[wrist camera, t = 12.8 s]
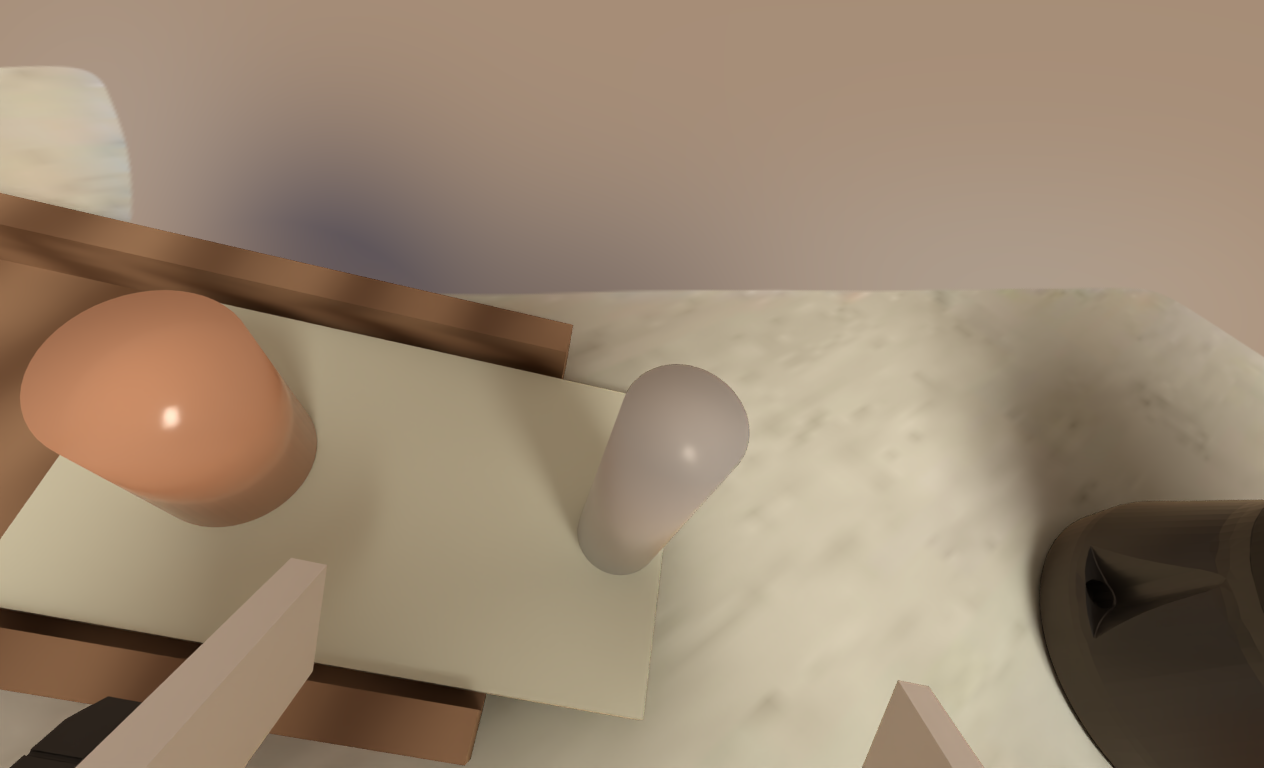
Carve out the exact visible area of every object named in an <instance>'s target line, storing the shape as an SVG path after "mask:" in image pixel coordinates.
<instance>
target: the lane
mask: <svg viewBox="0 0 1264 768" xmlns="http://www.w3.org/2000/svg"><path fill="white" fill-rule="evenodd" d="M155 290H173V291H184V292H190V293H195V294H198V295H202V296H205V297H208V298H210V299H213V300H215V301H217V302H219V303H222V304H226V305H231V306H235V307H240V308H244V309H249V310H253V311H258V312H262V313H267V314H271V315H276V316H280V317H285V318H289V319H294V320H298V321H303V322H307V323H312V324H316V325H321V326H325V327H330V328H334V329H339V330H343V331H348V332H352V333H357V334H361V335H366V336H370V337H375V338H379V339H384V340H388V341H393V342H397V343H402V344H406V345H411V346H415V347H420V348H424V349H429V350H433V351H438V352H442V353H447V354H451V355H456V356H460V357H465V358H469V359H474V360H478V361H483V362H487V363H492V364H496V365H501V366H505V367H510V368H514V369H519V370H523V371H528V372H532V373H537V374H541V375H546V376H550V377H555V378H559V379H563V377H564V373H565V369H566V363H567V357H568V352H569V346H570V340H571V334H572V328H573V325H571V324H566V323H562V322H558V321H553V320H549V319H545V318H540V317H536V316H532V315H527V314H523V313H519V312H514V311H510V310H506V309H501V308H497V307H493V306H488V305H484V304H480V303H475V302H471V301H467V300H462V299H458V298H454V297H449V296H445V295H441V294H436V293H432V292H428V291H423V290H419V289H414V288H410V287H406V286H401V285H397V284H393V283H388V282H383V281H380V280H375V279H371V278H367V277H362V276H358V275H353V274H349V273H345V272H341V271H336V270H332V269H328V268H323V267H319V266H314V265H310V264H306V263H301V262H297V261H293V260H288V259H284V258H280V257H275V256H271V255H267V254H262V253H258V252H254V251H250V250H245V249H241V248H237V247H232V246H228V245H223V244H219V243H215V242H211V241H206V240H202V239H197V238H193V237H188V236H185V235H180V234H176V233H171V232H167V231H163V230H158V229H154V228H149V227H145V226H141V225H137V224H132V223H128V222H124V221H119V220H115V219H111V218H106V217H102V216H98V215H93V214H89V213H85V212H80V211H76V210H72V209H67V208H63V207H59V206H54V205H50V204H46V203H41V202H37V201H33V200H28V199H24V198H20V197H15V196H11V195H7V194H2V193H0V539H1V537H2V536H3V535H4V533H5V532H6V530H7V529H8V527H9V526H10V525H11V523H12V522H13V520H14V519H15V518H16V516H17V515H18V513H19V512H20V510H21V509H22V508H23V506H24V505H25V503H26V502H27V501H28V499H29V498H30V496H31V495H32V494H33V492H34V491H35V489H36V488H37V486H38V485H39V484H40V482H41V481H42V479H43V478H44V477H45V475H46V474H47V472H48V471H49V469H50V468H51V467H52V465H53V464H54V462H55V461H56V460H57V458H58V457H59V454H57V453H56V452H54V451H52V450H50V449H49V448H47V447H46V446H45V445H43V444H42V443H41V442H40V441H39V440H37V439H36V437H35V436H34V435H33V434H32V432H31V431H30V430H29V428H28V426H27V424H26V422H25V420H24V418H23V414H22V411H21V404H20V392H21V384H22V381H23V377H24V374H25V371H26V369H27V367H28V365H29V363H30V361H31V359H32V358H33V356H34V355H35V353H36V352H37V350H38V349H39V348H40V347H41V345H42V344H43V343H44V342H45V341H46V340H47V339H48V338H49V337H50V336H51V335H52V334H53V333H54V332H55V331H56V330H57V329H58V328H60V327H61V326H62V325H64V324H65V323H66V322H67V321H69V320H70V319H72V318H74V317H75V316H77V315H78V314H80V313H81V312H83V311H85V310H87V309H89V308H91V307H93V306H95V305H98V304H100V303H103V302H105V301H108V300H111V299H114V298H117V297H120V296H124V295H128V294H133V293H137V292H145V291H155ZM201 645H202V644H200V643H194V642H188V641H183V640H177V639H171V638H165V637H160V636H154V635H148V634H143V633H137V632H131V631H125V630H120V629H114V628H108V627H103V626H97V625H91V624H85V623H80V622H74V621H68V620H62V619H57V618H51V617H45V616H40V615H34V614H28V613H22V612H17V611H11V610H5V609H0V689H2V690H8V691H14V692H20V693H26V694H32V695H38V696H44V697H50V698H56V699H63V700H69V701H75V702H81V703H87V704H95V703H96V702H98V701H100V700H102V699H104V698H106V697H108V696H110V697H115V698H121V699H126V700H132V701H137V702H143V701H144V700H145V699H146V698H147V697H148V696H150V695H151V694H152V693H153V692H154V691H155V690H156V689H157V688H158V687H159V686H160V685H161V684H162V683H163V682H164V681H165V680H166V679H167V678H168V677H169V676H170V675H171V674H172V673H173V672H174V671H175V670H176V669H177V668H178V667H179V666H180V665H181V664H182V663H183V662H184V661H185V660H187V659H188V658H189V657H190V656H191V655H192V654H193V653H194V652H195V651H196V650H197V649H198V648H199V647H200V646H201ZM485 698H486V693H480V692H474V691H469V690H463V689H457V688H452V687H446V686H440V685H434V684H429V683H423V682H417V681H412V680H406V679H400V678H394V677H389V676H383V675H377V674H371V673H366V672H360V671H354V670H349V669H343V668H337V667H331V666H326V665H320V664H314V666H313V672H312V673H311V674H310V676H309V677H308V679H307V680H306V681H305V683H304V684H303V686H302V687H301V689H300V690H299V691H298V693H297V694H296V696H295V697H294V698H293V700H292V701H291V703H290V704H289V705H288V707H287V708H286V710H285V711H284V712H283V714H282V715H281V717H280V718H279V719H278V721H277V722H276V724H275V725H274V727H273V728H272V729H271V731H270V732H269V733H270V734H276V735H282V736H288V737H294V738H300V739H307V740H313V741H319V742H325V743H331V744H337V745H343V746H349V747H355V748H361V749H368V750H374V751H380V752H386V753H392V754H398V755H404V756H410V757H416V758H422V759H429V760H435V761H441V762H447V763H453V764H459V765H465V764H466V763H467V762H468V761H469V760H470V759H471V755H472V751H473V747H474V743H475V739H476V735H477V731H478V726H479V722H480V718H481V714H482V710H483V706H484V702H485Z"/></svg>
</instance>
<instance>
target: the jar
mask: <svg viewBox="0 0 1264 768" xmlns="http://www.w3.org/2000/svg"><path fill="white" fill-rule="evenodd" d="M20 404H21V411H22V414H23V418H24V420H25V422H26V424H27V426H28V428H29V430H30V431H31V432H32V434H33V435H34V436H35V437H36V439H37V440H39V441H40V442H41V443H42V444H43V445H45V446H46V447H47V448H49V449H50V450H52V451H54V452H56V453H57V454H59V455H61V456H63V457H65V458H67V459H68V460H70V461H72V462H74V463H76V464H78V465H80V466H81V467H83V468H85V469H87V470H89V471H91V472H93V473H94V474H96V475H98V476H100V477H102V478H104V479H106V480H107V481H109V482H111V483H113V484H115V485H117V486H119V487H120V488H122V489H124V490H126V491H128V492H130V493H132V494H133V495H135V496H137V497H139V498H141V499H143V500H145V501H146V502H148V503H150V504H152V505H154V506H156V507H158V508H159V509H161V510H163V511H165V512H167V513H169V514H171V515H172V516H174V517H176V518H178V519H180V520H182V521H185V522H187V523H190V524H194V525H198V526H205V527H227V526H234V525H238V524H243V523H246V522H249V521H252V520H255V519H257V518H260V517H262V516H264V515H266V514H268V513H270V512H271V511H273V510H275V509H276V508H278V507H279V506H280V505H282V504H283V503H284V502H286V501H287V500H288V499H289V498H290V497H291V496H292V495H293V494H294V493H295V492H296V491H297V490H298V489H299V488H300V486H301V485H302V484H303V482H304V481H305V479H306V478H307V476H308V474H309V472H310V470H311V468H312V466H313V463H314V460H315V456H316V451H317V436H316V430H315V427H314V424H313V422H312V420H311V417H310V416H309V415H308V413H307V412H306V410H305V409H304V407H303V406H302V405H301V403H300V402H299V400H298V399H297V398H296V396H295V395H294V393H293V392H292V391H291V389H290V388H289V386H288V385H287V384H286V382H285V381H284V379H283V378H282V377H281V375H280V374H279V373H278V371H277V370H276V368H275V367H274V366H273V364H272V363H271V361H270V360H269V359H268V357H267V356H266V354H265V353H264V352H263V350H262V349H261V347H260V346H259V345H258V343H257V342H256V340H255V339H254V338H253V336H252V335H251V333H250V332H249V331H248V329H247V328H246V326H245V325H244V324H243V322H242V321H241V320H240V319H239V318H238V317H237V315H236V314H235V313H234V312H232V311H231V310H230V309H228V308H227V307H226V306H224V305H222V304H221V303H219V302H217V301H215V300H213V299H210V298H208V297H205V296H202V295H198V294H195V293H190V292H184V291H173V290H155V291H145V292H137V293H133V294H128V295H124V296H120V297H117V298H114V299H111V300H108V301H105V302H103V303H100V304H98V305H95V306H93V307H91V308H89V309H87V310H85V311H83V312H81V313H80V314H78V315H77V316H75V317H74V318H72V319H70V320H69V321H67V322H66V323H65V324H64V325H62V326H61V327H60V328H58V329H57V330H56V331H55V332H54V333H53V334H52V335H51V336H50V337H49V338H48V339H47V340H46V341H45V342H44V343H43V344H42V345H41V347H40V348H39V349H38V350H37V352H36V353H35V355H34V356H33V358H32V359H31V361H30V363H29V365H28V367H27V369H26V371H25V374H24V377H23V381H22V384H21V392H20Z"/></svg>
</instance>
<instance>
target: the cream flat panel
mask: <svg viewBox="0 0 1264 768" xmlns="http://www.w3.org/2000/svg"><path fill="white" fill-rule="evenodd" d="M221 304H222V303H221ZM222 305H224V306H226V307H227V308H228V309H230V310H231V311H232V312H234V313H235V314H236V315H237V317H238V318H239V319H240V320H241V321H242V322H243V324H244V325H245V326H246V328H247V329H248V331H249V332H250V333H251V335H252V336H253V338H254V339H255V340H256V342H257V343H258V345H259V346H260V347H261V349H262V350H263V352H264V353H265V354H266V356H267V357H268V359H269V360H270V361H271V363H272V364H273V366H274V367H275V368H276V370H277V371H278V373H279V374H280V375H281V377H282V378H283V379H284V381H285V382H286V384H287V385H288V386H289V388H290V389H291V391H292V392H293V393H294V395H295V396H296V398H297V399H298V400H299V402H300V403H301V405H302V406H303V407H304V409H305V410H306V412H307V413H308V415H309V416H310V417H311V420H312V422H313V424H314V427H315V430H316V436H317V451H316V456H315V460H314V463H313V466H312V468H311V470H310V472H309V474H308V476H307V478H306V479H305V481H304V482H303V484H302V485H301V486H300V488H299V489H298V490H297V491H296V492H295V493H294V494H293V495H292V496H291V497H290V498H289V499H288V500H287V501H286V502H284V503H283V504H282V505H280V506H279V507H278V508H276V509H275V510H273V511H271V512H270V513H268V514H266V515H264V516H262V517H260V518H257V519H255V520H252V521H249V522H246V523H243V524H238V525H234V526H227V527H205V526H198V525H194V524H190V523H187V522H185V521H182V520H180V519H178V518H176V517H174V516H172V515H171V514H169V513H167V512H165V511H163V510H161V509H159V508H158V507H156V506H154V505H152V504H150V503H148V502H146V501H145V500H143V499H141V498H139V497H137V496H135V495H133V494H132V493H130V492H128V491H126V490H124V489H122V488H120V487H119V486H117V485H115V484H113V483H111V482H109V481H107V480H106V479H104V478H102V477H100V476H98V475H96V474H94V473H93V472H91V471H89V470H87V469H85V468H83V467H81V466H80V465H78V464H76V463H74V462H72V461H70V460H68V459H67V458H65V457H63V456H61V455H59V457H58V458H57V460H56V461H55V462H54V464H53V465H52V467H51V468H50V469H49V471H48V472H47V474H46V475H45V477H44V478H43V479H42V481H41V482H40V484H39V485H38V486H37V488H36V489H35V491H34V492H33V494H32V495H31V496H30V498H29V499H28V501H27V502H26V503H25V505H24V506H23V508H22V509H21V510H20V512H19V513H18V515H17V516H16V518H15V519H14V520H13V522H12V523H11V525H10V526H9V527H8V529H7V530H6V532H5V533H4V535H3V536H2V537H1V539H0V609H5V610H11V611H17V612H22V613H28V614H34V615H40V616H45V617H51V618H57V619H62V620H68V621H74V622H80V623H85V624H91V625H97V626H103V627H108V628H114V629H120V630H125V631H131V632H137V633H143V634H148V635H154V636H160V637H165V638H171V639H177V640H183V641H188V642H194V643H200V644H203V643H204V642H205V641H206V640H207V639H208V638H209V637H210V636H211V635H212V634H213V633H214V632H215V631H216V630H217V629H218V628H219V627H220V626H221V625H223V624H224V623H225V622H226V621H227V620H228V619H229V618H230V617H231V616H232V615H233V614H234V613H235V612H236V611H237V610H238V609H239V608H240V607H241V606H242V605H243V604H244V603H245V602H246V601H247V600H248V599H249V598H250V597H251V596H252V595H253V594H254V593H255V592H256V591H257V590H259V589H260V588H261V587H262V586H263V585H264V584H265V583H266V582H267V581H268V580H269V579H270V578H271V577H272V576H273V575H274V574H275V573H276V572H277V571H278V570H279V569H280V568H281V567H282V566H283V565H284V564H285V563H286V562H287V561H288V560H289V559H290V558H295V559H300V560H305V561H310V562H315V563H320V564H325V565H327V570H326V577H325V584H324V592H323V599H322V607H321V614H320V621H319V629H318V636H317V644H316V651H315V658H314V664H320V665H326V666H331V667H337V668H343V669H349V670H354V671H360V672H366V673H371V674H377V675H383V676H389V677H394V678H400V679H406V680H412V681H417V682H423V683H429V684H434V685H440V686H446V687H452V688H457V689H463V690H469V691H474V692H480V693H486V694H492V695H497V696H503V697H509V698H515V699H520V700H526V701H532V702H537V703H543V704H549V705H555V706H560V707H566V708H572V709H578V710H583V711H589V712H595V713H600V714H606V715H612V716H618V717H623V718H629V719H635V720H643V717H644V708H645V700H646V691H647V683H648V674H649V666H650V658H651V649H652V641H653V632H654V624H655V615H656V607H657V599H658V590H659V582H660V573H661V565H662V557H663V548H664V546H665V545H666V544H667V543H668V542H669V541H670V539H671V538H672V537H673V536H674V535H675V534H676V533H677V532H678V531H679V529H680V528H681V527H682V526H683V525H684V524H685V523H686V522H687V521H688V520H689V518H690V517H691V516H692V515H693V514H694V513H695V512H696V511H697V510H698V508H699V507H700V506H701V505H702V504H703V503H704V502H705V501H706V500H707V499H708V497H709V496H710V495H711V494H712V493H713V492H714V491H715V490H716V489H717V488H718V486H719V485H720V484H721V483H722V482H723V481H724V480H725V479H726V478H727V476H728V475H729V474H730V473H731V472H732V471H733V470H734V469H735V468H736V466H737V465H738V464H739V463H740V461H741V460H742V458H743V457H744V455H745V452H746V450H747V446H748V443H749V422H748V418H747V414H746V411H745V409H744V407H743V405H742V403H741V401H740V399H739V398H738V396H737V395H736V394H735V392H734V391H733V390H732V389H731V388H730V387H729V386H728V385H727V384H726V383H725V382H723V381H722V380H721V379H720V378H718V377H717V376H715V375H713V374H711V373H710V372H708V371H705V370H703V369H700V368H697V367H694V366H689V365H680V364H673V365H665V366H660V367H657V368H654V369H652V370H649V371H647V372H646V373H644V374H643V375H641V376H640V377H639V378H638V379H636V380H635V381H634V382H633V384H632V385H631V386H630V388H629V389H628V391H627V392H626V393H622V392H618V391H613V390H609V389H604V388H600V387H595V386H591V385H586V384H582V383H577V382H573V381H568V380H564V379H559V378H555V377H550V376H546V375H541V374H537V373H532V372H528V371H523V370H519V369H514V368H510V367H505V366H501V365H496V364H492V363H487V362H483V361H478V360H474V359H469V358H465V357H460V356H456V355H451V354H447V353H442V352H438V351H433V350H429V349H424V348H420V347H415V346H411V345H406V344H402V343H397V342H393V341H388V340H384V339H379V338H375V337H370V336H366V335H361V334H357V333H352V332H348V331H343V330H339V329H334V328H330V327H325V326H321V325H316V324H312V323H307V322H303V321H298V320H294V319H289V318H285V317H280V316H276V315H271V314H267V313H262V312H258V311H253V310H249V309H244V308H240V307H235V306H231V305H226V304H222Z"/></svg>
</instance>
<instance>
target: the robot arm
mask: <svg viewBox="0 0 1264 768" xmlns="http://www.w3.org/2000/svg"><path fill="white" fill-rule="evenodd" d="M326 570H327V565H325V564H320V563H315V562H310V561H305V560H300V559H295V558H290V559H289V560H288V561H287V562H286V563H285V564H284V565H283V566H282V567H281V568H280V569H279V570H278V571H277V572H276V573H275V574H274V575H273V576H272V577H271V578H270V579H269V580H268V581H267V582H266V583H265V584H264V585H263V586H262V587H261V588H260V589H259V590H257V591H256V592H255V593H254V594H253V595H252V596H251V597H250V598H249V599H248V600H247V601H246V602H245V603H244V604H243V605H242V606H241V607H240V608H239V609H238V610H237V611H236V612H235V613H234V614H233V615H232V616H231V617H230V618H229V619H228V620H227V621H226V622H225V623H224V624H223V625H221V626H220V627H219V628H218V629H217V630H216V631H215V632H214V633H213V634H212V635H211V636H210V637H209V638H208V639H207V640H206V641H205V642H204V643H203V644H202V645H201V646H200V647H199V648H198V649H197V650H196V651H195V652H194V653H193V654H192V655H191V656H190V657H189V658H188V659H187V660H185V661H184V662H183V663H182V664H181V665H180V666H179V667H178V668H177V669H176V670H175V671H174V672H173V673H172V674H171V675H170V676H169V677H168V678H167V679H166V680H165V681H164V682H163V683H162V684H161V685H160V686H159V687H158V688H157V689H156V690H155V691H154V692H153V693H152V694H151V695H150V696H148V697H147V698H146V699H145V700H144V701H143V702H137V701H132V700H126V699H121V698H115V697H110V696H108V697H106V698H104V699H102V700H100V701H98V702H96V703H95V704H93V705H91V706H89V707H87V708H85V709H83V710H82V711H80V712H78V713H76V714H74V715H72V716H70V717H69V718H67V719H65V720H64V721H63V722H62V723H61V724H59V725H58V726H57V727H56V728H55V729H54V730H53V731H51V732H50V733H49V734H48V735H47V736H46V737H44V738H43V739H42V740H41V741H40V742H39V743H38V744H36V745H35V746H34V747H33V748H32V749H31V751H30V753H29V754H28V755H27V756H25V755H24V756H23V757H21V758H20V759H19V760H18V761H17V762H16V763H15V764H13V765H12V766H11V767H10V768H244V767H245V766H246V765H247V763H248V762H249V760H250V759H251V758H252V756H253V755H254V753H255V752H256V750H257V749H258V748H259V746H260V745H261V743H262V742H263V741H264V739H265V738H266V736H267V735H268V734H269V732H270V731H271V729H272V728H273V727H274V725H275V724H276V722H277V721H278V719H279V718H280V717H281V715H282V714H283V712H284V711H285V710H286V708H287V707H288V705H289V704H290V703H291V701H292V700H293V698H294V697H295V696H296V694H297V693H298V691H299V690H300V689H301V687H302V686H303V684H304V683H305V681H306V680H307V679H308V677H309V676H310V674H311V673H312V672H313V666H314V658H315V651H316V644H317V636H318V629H319V621H320V614H321V607H322V599H323V592H324V584H325V577H326ZM1040 608H1041V618H1042V625H1043V630H1044V635H1045V639H1046V643H1047V647H1048V650H1049V654H1050V657H1051V660H1052V663H1053V665H1054V668H1055V671H1056V673H1057V676H1058V678H1059V680H1060V683H1061V685H1062V687H1063V689H1064V691H1065V693H1066V696H1067V698H1068V700H1069V701H1070V703H1071V705H1072V707H1073V709H1074V711H1075V712H1076V714H1077V716H1078V717H1079V719H1080V721H1081V722H1082V724H1083V725H1084V727H1085V728H1086V730H1087V731H1088V733H1089V734H1090V736H1091V737H1092V739H1093V740H1094V741H1095V743H1096V744H1097V745H1098V747H1099V748H1100V749H1101V751H1102V752H1103V753H1104V754H1105V756H1106V757H1107V758H1108V759H1109V760H1110V762H1111V763H1112V764H1113V765H1114V766H1115V767H1116V768H1264V500H1205V501H1141V502H1133V503H1127V504H1123V505H1119V506H1115V507H1112V508H1109V509H1107V510H1104V511H1101V512H1098V513H1095V514H1092V515H1089V516H1087V517H1084V518H1082V519H1080V520H1078V521H1076V522H1074V523H1072V524H1071V525H1070V526H1068V527H1067V528H1066V529H1065V530H1064V531H1063V532H1062V533H1061V534H1060V535H1059V536H1058V538H1057V539H1056V540H1055V542H1054V543H1053V545H1052V546H1051V548H1050V551H1049V553H1048V555H1047V558H1046V560H1045V563H1044V567H1043V571H1042V577H1041V586H1040ZM862 768H984V767H983V765H982V764H981V762H980V761H979V759H978V758H977V756H976V755H975V753H974V752H973V750H972V749H971V748H970V746H969V745H968V743H967V742H966V740H965V739H964V737H963V736H962V734H961V733H960V731H959V730H958V728H957V727H956V726H955V724H954V723H953V721H952V720H951V718H950V717H949V715H948V714H947V712H946V711H945V709H944V708H943V706H942V705H941V704H940V702H939V701H938V699H937V698H936V696H935V695H934V693H933V692H932V690H931V689H930V687H929V686H924V685H919V684H914V683H909V682H904V681H899V680H898V681H897V684H896V686H895V689H894V691H893V694H892V696H891V698H890V701H889V703H888V706H887V708H886V711H885V713H884V715H883V718H882V720H881V723H880V725H879V728H878V730H877V732H876V735H875V737H874V740H873V742H872V745H871V747H870V749H869V752H868V754H867V757H866V759H865V762H864V764H863V766H862Z"/></svg>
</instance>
